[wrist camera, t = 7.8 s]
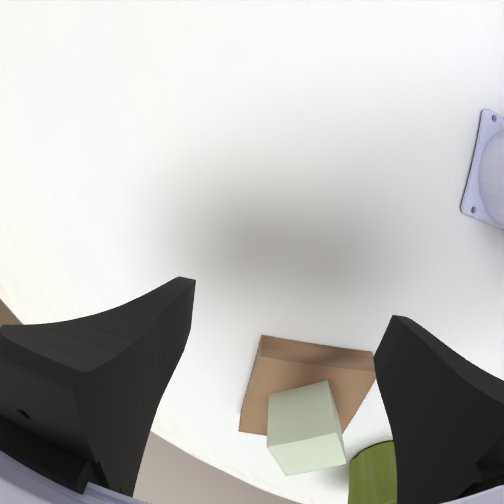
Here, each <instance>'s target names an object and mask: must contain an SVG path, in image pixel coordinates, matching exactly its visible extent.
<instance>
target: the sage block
mask: <svg viewBox="0 0 504 504" xmlns="http://www.w3.org/2000/svg"><path fill="white" fill-rule="evenodd" d="M267 448H268V450H269V451H270V453H271V454H272V456H273V457H274V459H275V460H276V462H277V463H278V465H279V466H280V468H281V469H282V471H283V472H284V474H285V475H286V476H289V475H295V474H301V473H307V472H312V471H317V470H322V469H326V468H331V467H335V466H339V465H343V464H347V462H346V456H345V449H344V443H343V437H342V431H341V426H340V420H339V415H338V411H337V408H336V405H335V402H334V399H333V396H332V392H331V389H330V386H329V383H328V380H326V381H322V382H318V383H315V384H311V385H307V386H303V387H299V388H295V389H291V390H287V391H282V392H278V393H273V394H269V403H268V427H267Z"/></svg>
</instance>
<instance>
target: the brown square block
mask: <svg viewBox="0 0 504 504" xmlns="http://www.w3.org/2000/svg"><path fill="white" fill-rule="evenodd" d="M375 379H376V374H375V367H374V360H373V354H372V352H369V351H361V350H353V349H346V348H338V347H331V346H325V345H318V344H312V343H305V342H299V341H293V340H287V339H282V338H276V337H271V336H265V335H262V336H261V339H260V343H259V347H258V351H257V354H256V358H255V362H254V365H253V369H252V373H251V376H250V380H249V383H248V387H247V391H246V394H245V398H244V401H243V405H242V408H241V414H240V422H239V432H245V433H252V434H258V435H266V436H267V427H268V403H269V394H273V393H278V392H282V391H287V390H291V389H295V388H299V387H303V386H307V385H311V384H315V383H318V382H322V381H326V380H328V383H329V386H330V389H331V392H332V396H333V399H334V402H335V405H336V408H337V411H338V415H339V420H340V426H341V431H342V434H343V432H344V431H345V429H346V428H347V426H348V424H349V423H350V421H351V420H352V418H353V417H354V415H355V413H356V412H357V410H358V408H359V407H360V405H361V403H362V402H363V400H364V398H365V397H366V395H367V393H368V392H369V390H370V388H371V386H372V384H373V383H374V381H375Z"/></svg>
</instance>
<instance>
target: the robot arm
mask: <svg viewBox="0 0 504 504" xmlns="http://www.w3.org/2000/svg"><path fill="white" fill-rule="evenodd" d="M492 116H493V119H494V120H493V121H492ZM472 207H473V211H472V212H471V208H472ZM461 211H462V212H463V213H464V214H466V215H468V216H471V217H474V218H476V219H479V220H481V221H484V222H486V223H489V224H491V225H494V226H496V227H498V228H501V229H503V230H504V118H503V117H502V116H500V115H498V114H497V113H495V112H494V111H492V110H490V109H484V110H483V111H482V115H481V122H480V128H479V133H478V138H477V144H476V148H475V153H474V158H473V162H472V167H471V171H470V175H469V179H468V183H467V187H466V190H465V194H464V198H463V201H462V204H461ZM195 283H196V280H193V279H189V278H184V277H177V278H174V279H173V280H171V281H169V282H167V283H165V284H164V285H162V286H160V287H158V288H156V289H154V290H153V291H151V292H149V293H147V294H145V295H143V296H141V297H139V298H136V299H134V300H132V301H130V302H128V303H126V304H123V305H121V306H118V307H116V308H113V309H110V310H107V311H104V312H101V313H98V314H95V315H90V316H86V317H82V318H78V319H73V320H68V321H62V322H55V323H46V324H34V325H2V326H1V327H0V504H151V503H148V502H144V501H141V500H138V499H135V498H132V497H133V492H134V488H135V483H136V480H137V476H138V472H139V468H140V464H141V460H142V457H143V453H144V450H145V446H146V443H147V439H148V436H149V432H150V429H151V426H152V423H153V420H154V417H155V414H156V411H157V408H158V405H159V403H160V400H161V398H162V396H163V393H164V391H165V389H166V387H167V385H168V383H169V381H170V379H171V377H172V375H173V372H174V370H175V368H176V366H177V364H178V362H179V360H180V358H181V356H182V353H183V351H184V348H185V345H186V342H187V339H188V336H189V333H190V329H191V321H192V311H193V301H194V292H195ZM373 360H374V367H375V374H376V380H377V383H378V387H379V390H380V393H381V397H382V400H383V403H384V406H385V410H386V413H387V416H388V420H389V423H390V427H391V431H392V435H393V442H394V449H395V457H396V471H397V504H504V381H503V380H501V379H499V378H497V377H495V376H493V375H491V374H489V373H487V372H486V371H484V370H482V369H481V368H479V367H477V366H476V365H474V364H472V363H471V362H469V361H468V360H466V359H465V358H463V357H462V356H460V355H459V354H458V353H456V352H455V351H453V350H452V349H451V348H449V347H448V346H447V345H445V344H444V343H443V342H441V341H440V340H439V339H438V338H436V337H435V336H434V335H432V334H431V333H430V332H428V331H427V330H426V329H424V328H423V327H422V326H420V325H419V324H417V323H416V322H414V321H413V320H411V319H409V318H407V317H403V316H397V315H392V318H391V320H390V322H389V325H388V327H387V329H386V331H385V334H384V336H383V338H382V340H381V343H380V345H379V347H378V349H377V351H376V353H375V355H374V357H373Z"/></svg>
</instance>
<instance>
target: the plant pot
mask: <svg viewBox="0 0 504 504" xmlns="http://www.w3.org/2000/svg"><path fill="white" fill-rule="evenodd" d="M348 504H397V471H396V457H395V449H394V442H385V443H381V444H378V445H375V446H372V447H370V448H367V449H365V450H364V451H362V452H361V453H360V454H359V455H358V456H357V457H356V458H355V459H352V461H351V463H350V479H349V495H348Z"/></svg>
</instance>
